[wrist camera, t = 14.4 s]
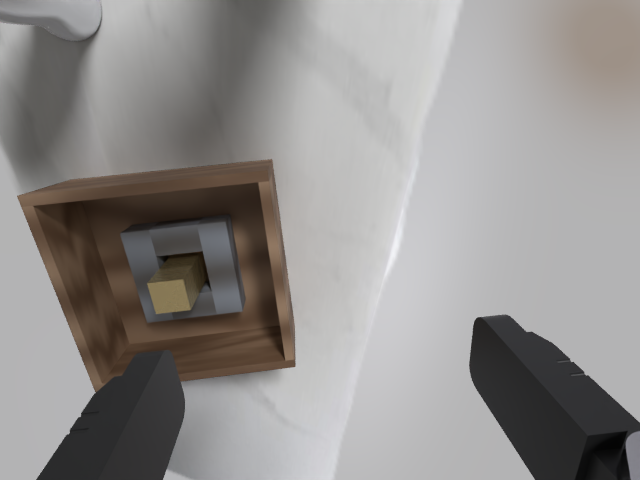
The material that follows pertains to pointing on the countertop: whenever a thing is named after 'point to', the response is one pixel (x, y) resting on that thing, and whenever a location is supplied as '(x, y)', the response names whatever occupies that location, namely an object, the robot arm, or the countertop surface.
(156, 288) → the tan wooden block
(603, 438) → the robot arm
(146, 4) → the countertop surface
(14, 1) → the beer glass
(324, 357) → the countertop surface
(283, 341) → the walled box
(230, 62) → the countertop surface
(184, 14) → the countertop surface
